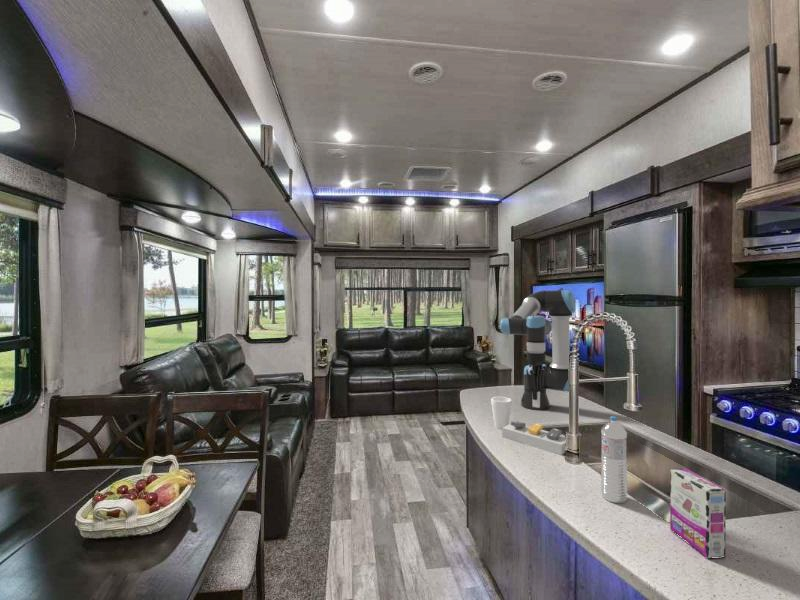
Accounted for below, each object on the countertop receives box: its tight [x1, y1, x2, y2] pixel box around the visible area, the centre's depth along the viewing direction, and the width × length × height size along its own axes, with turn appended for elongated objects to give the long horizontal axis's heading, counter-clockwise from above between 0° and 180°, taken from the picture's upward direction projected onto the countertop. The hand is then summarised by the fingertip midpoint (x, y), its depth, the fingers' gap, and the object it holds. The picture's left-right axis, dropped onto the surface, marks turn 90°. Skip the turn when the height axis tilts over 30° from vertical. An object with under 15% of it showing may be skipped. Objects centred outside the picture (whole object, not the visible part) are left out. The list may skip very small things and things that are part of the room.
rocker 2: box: [547, 427, 563, 440], centre depth 150 cm, size 6×4×2 cm, turn 133°
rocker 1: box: [510, 421, 526, 427], centre depth 162 cm, size 6×4×2 cm, turn 134°
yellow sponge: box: [528, 422, 544, 435], centre depth 156 cm, size 6×4×2 cm, turn 133°
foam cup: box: [490, 396, 512, 430], centre depth 175 cm, size 10×9×13 cm
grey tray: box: [501, 423, 589, 458], centre depth 153 cm, size 10×34×5 cm, turn 43°
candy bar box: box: [669, 468, 727, 559], centre depth 92 cm, size 11×5×16 cm, turn 5°
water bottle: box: [600, 415, 628, 504], centre depth 113 cm, size 7×7×25 cm
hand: (536, 406), depth 158 cm, fingers closed
